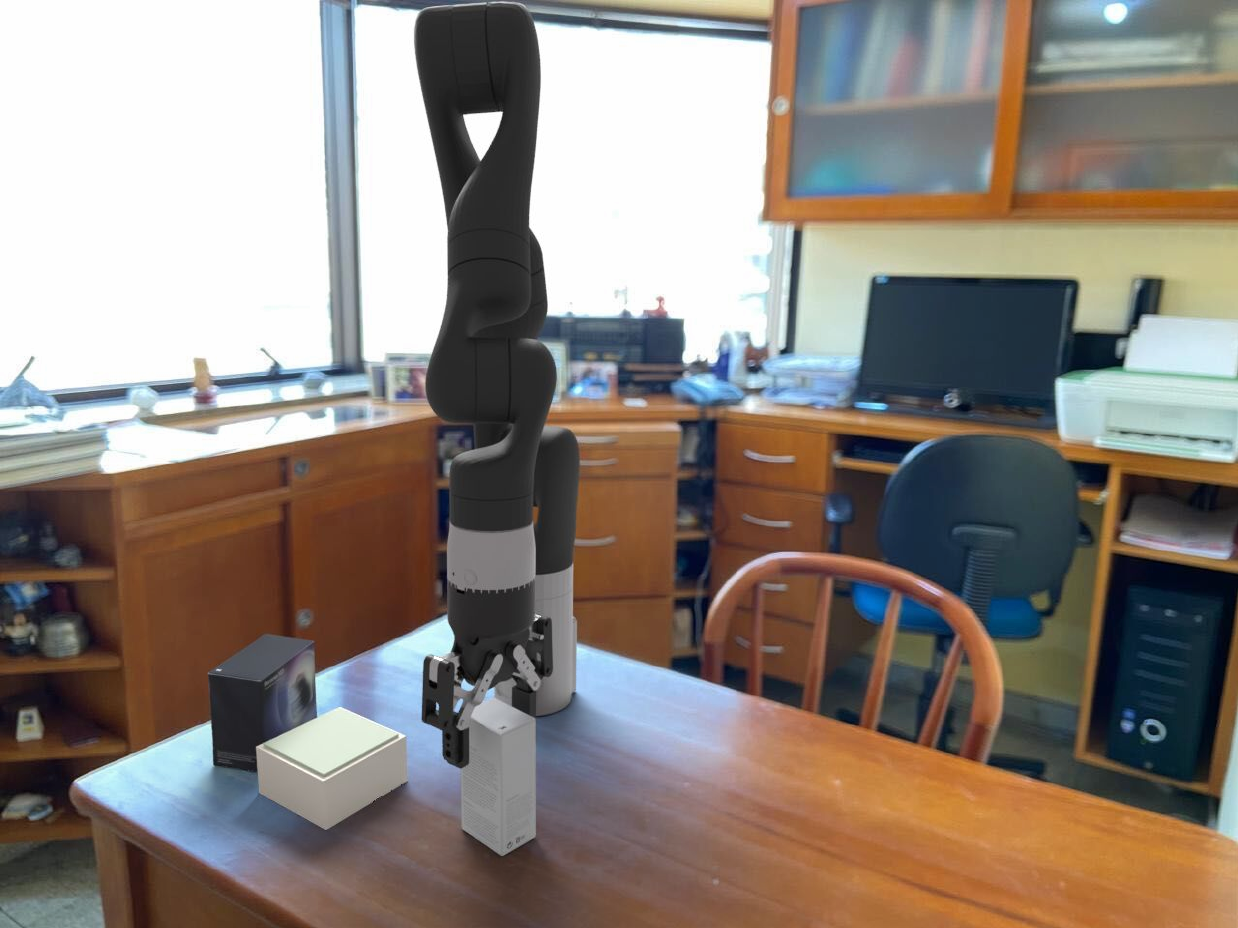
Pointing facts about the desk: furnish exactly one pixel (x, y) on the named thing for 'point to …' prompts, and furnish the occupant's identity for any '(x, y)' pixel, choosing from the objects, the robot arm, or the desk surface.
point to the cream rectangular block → (332, 766)
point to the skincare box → (500, 777)
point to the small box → (260, 697)
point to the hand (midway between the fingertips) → (491, 744)
